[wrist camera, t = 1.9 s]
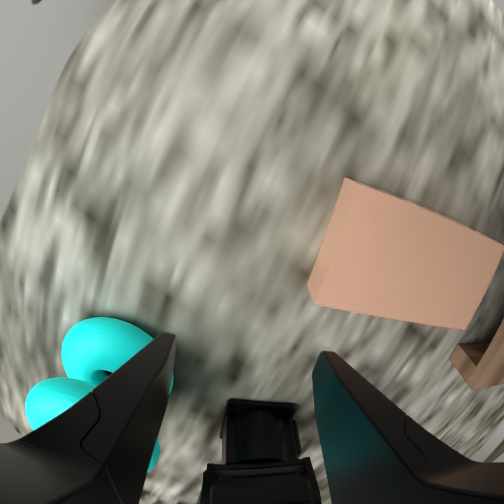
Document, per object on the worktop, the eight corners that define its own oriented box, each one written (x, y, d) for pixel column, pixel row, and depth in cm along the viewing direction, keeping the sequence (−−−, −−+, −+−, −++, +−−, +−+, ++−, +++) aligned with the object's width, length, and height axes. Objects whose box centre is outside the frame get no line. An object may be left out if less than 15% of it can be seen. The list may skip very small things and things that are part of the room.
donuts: (-5, 401, 13) (92, 396, 12) (51, 323, 22) (140, 296, 22) (80, 480, 17) (183, 484, 16) (108, 401, 26) (195, 387, 25)
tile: (305, 282, 22) (314, 304, 19) (342, 176, 19) (359, 183, 17) (448, 312, 24) (465, 330, 21) (484, 234, 21) (505, 246, 19)
